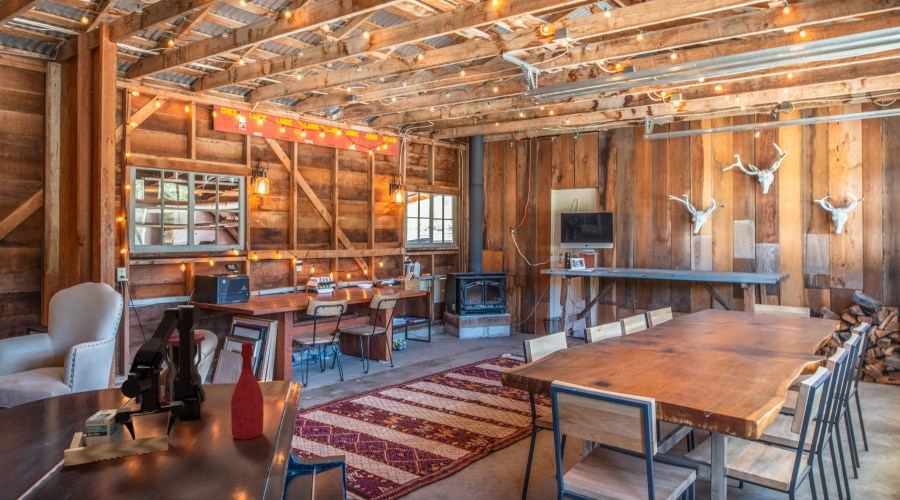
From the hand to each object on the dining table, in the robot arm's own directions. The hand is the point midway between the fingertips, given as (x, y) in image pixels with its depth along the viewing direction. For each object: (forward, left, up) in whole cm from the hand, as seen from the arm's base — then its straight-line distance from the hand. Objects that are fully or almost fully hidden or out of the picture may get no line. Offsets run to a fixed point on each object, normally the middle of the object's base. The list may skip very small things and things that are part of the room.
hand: (151, 438), depth 179 cm
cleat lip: (+15, -8, -1) cm, 17 cm away
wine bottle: (-27, +7, -2) cm, 28 cm away
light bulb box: (+12, 0, -2) cm, 12 cm away
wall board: (+9, 0, -1) cm, 9 cm away
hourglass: (-11, -46, -2) cm, 48 cm away
